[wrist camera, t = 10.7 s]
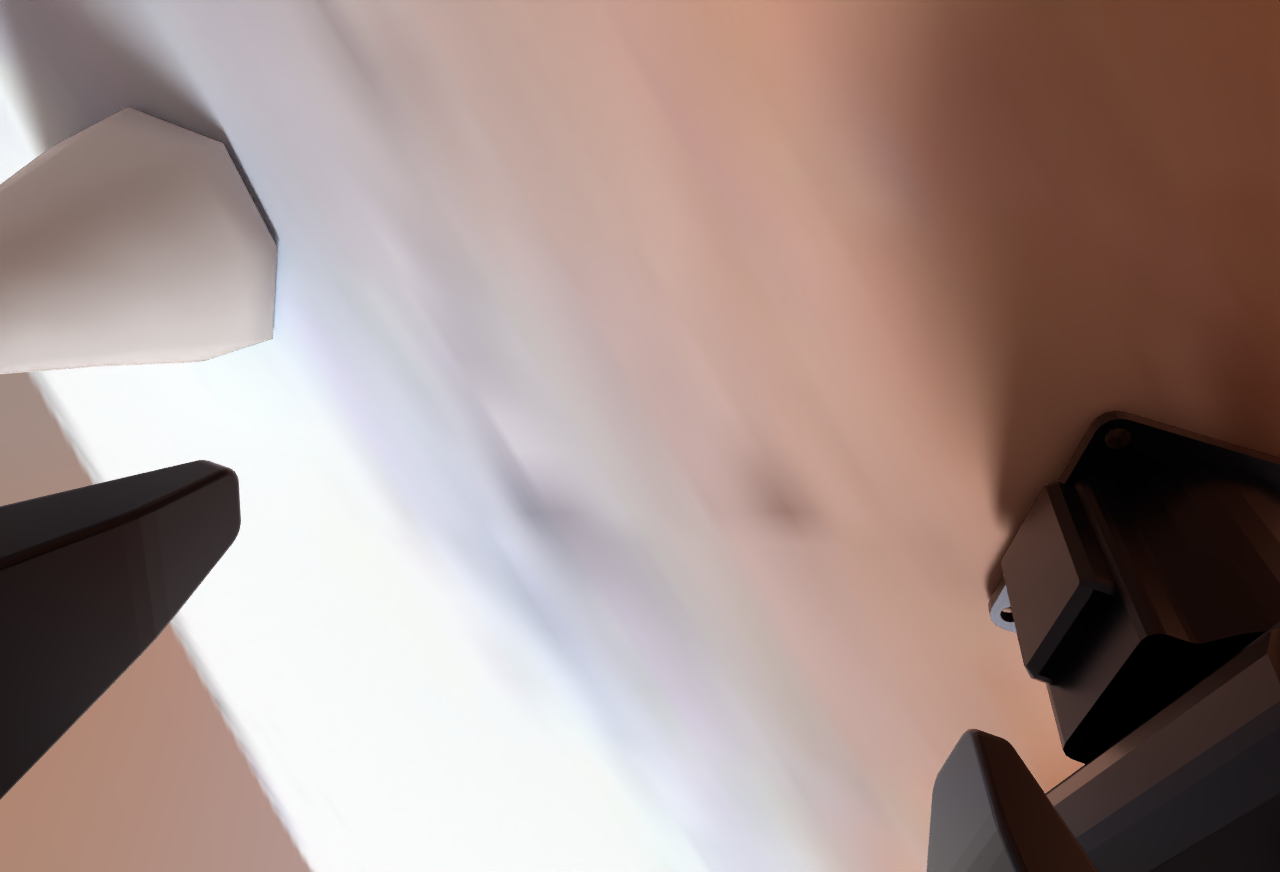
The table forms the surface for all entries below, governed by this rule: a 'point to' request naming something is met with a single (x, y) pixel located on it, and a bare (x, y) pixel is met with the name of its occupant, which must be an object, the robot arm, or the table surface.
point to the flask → (131, 252)
